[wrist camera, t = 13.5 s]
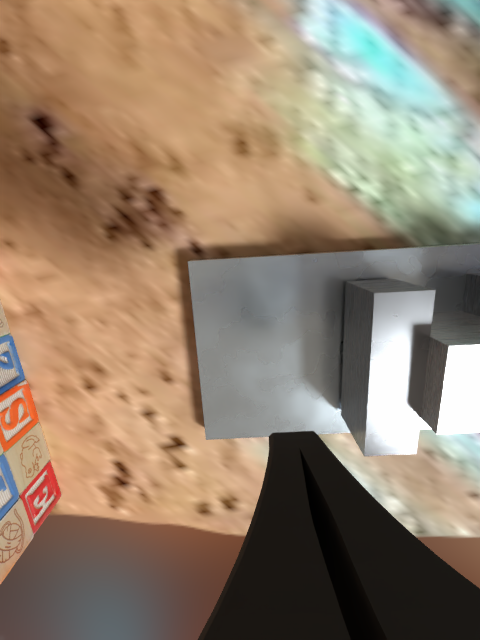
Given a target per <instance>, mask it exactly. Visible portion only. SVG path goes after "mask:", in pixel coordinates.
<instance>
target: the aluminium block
mask: <svg viewBox="0 0 480 640" xmlns="http://www.w3.org/2000/svg"><path fill="white" fill-rule="evenodd" d="M421 419H422V420H423V421H424V422H425V423H426V424H427V425H428V426H429V427H430V428H431V429H432V430H433V431H434V432H435V433H436V434H455V433H476V432H480V317H479V316H476V315H473V314H470V313H467V312H464V311H444V312H433V317H432V325H431V334H430V342H429V351H428V359H427V368H426V376H425V385H424V393H423V402H422V410H421Z"/></svg>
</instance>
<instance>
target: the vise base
mask: <svg viewBox="0 0 480 640" xmlns="http://www.w3.org/2000/svg"><path fill="white" fill-rule="evenodd" d="M188 269H189V278H190V288H191V298H192V308H193V317H194V327H195V337H196V347H197V356H198V366H199V376H200V386H201V395H202V405H203V415H204V425H205V434H206V440H210V439H231V438H251V437H269V436H270V435H271V434H272V433H276V432H298V431H314V432H315V433H316V434H335V433H351V432H350V430H349V428H348V427H347V425H346V423H345V421H344V420H343V418H342V416H341V396H342V369H343V342H344V314H345V287H346V281H362V280H380V279H397V280H400V281H404V282H408V283H412V284H415V285H419V286H423V287H427V288H431V289H434V290H436V291H435V300H434V308H433V312H444V311H464V312H467V313H470V314H473V315H476V316H479V317H480V243H470V244H453V245H436V246H419V247H402V248H385V249H368V250H351V251H334V252H317V253H300V254H283V255H266V256H249V257H232V258H215V259H198V260H189V261H188ZM419 429H431V428H430V427H429V426H428V425H427V424H426V423H425V422H424V421H423V420H422V419H420V427H419ZM479 433H480V432H479Z"/></svg>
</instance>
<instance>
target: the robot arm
mask: <svg viewBox="0 0 480 640" xmlns="http://www.w3.org/2000/svg"><path fill="white" fill-rule="evenodd" d="M198 640H480V589H479V588H478V587H477V586H476V585H474V584H473V583H472V582H470V581H469V580H468V579H466V578H465V577H464V576H462V575H461V574H460V573H458V572H457V571H456V570H455V569H453V568H452V567H451V566H450V565H448V564H447V563H446V562H445V561H443V560H442V559H441V558H440V557H438V556H437V555H436V554H434V552H432V551H431V550H430V549H429V548H428V547H427V546H425V545H424V544H423V543H422V542H421V541H420V540H418V539H417V538H416V537H415V536H414V535H413V534H412V533H410V532H409V531H408V530H407V529H406V528H405V527H404V526H403V525H402V524H401V523H399V522H398V521H397V520H396V519H395V518H394V517H393V516H392V515H391V514H390V513H389V512H388V511H387V510H386V509H385V508H384V507H383V506H382V505H381V504H380V503H379V502H377V501H376V500H375V499H374V498H373V496H372V495H371V494H370V493H369V492H368V491H367V490H366V489H365V488H364V487H363V486H362V485H361V484H360V483H359V482H358V481H357V480H356V479H355V478H354V477H353V476H352V474H351V473H350V472H349V471H348V470H347V469H346V468H345V467H344V466H343V465H342V463H341V462H340V461H339V460H338V459H337V458H336V457H335V455H334V454H333V453H332V452H331V451H330V449H329V448H328V447H327V446H326V445H325V443H324V442H323V441H322V440H321V439H320V437H319V436H318V435H317V434H316V433H315V432H314V431H298V432H276V433H272V434H271V435H270V436H269V456H268V462H267V468H266V472H265V477H264V481H263V485H262V489H261V493H260V496H259V499H258V502H257V506H256V509H255V512H254V515H253V518H252V521H251V524H250V527H249V529H248V532H247V535H246V537H245V540H244V543H243V545H242V548H241V550H240V553H239V555H238V558H237V560H236V562H235V564H234V567H233V569H232V571H231V573H230V575H229V578H228V580H227V582H226V584H225V587H224V589H223V591H222V593H221V595H220V597H219V599H218V602H217V604H216V606H215V608H214V610H213V612H212V614H211V616H210V617H209V619H208V621H207V623H206V625H205V627H204V629H203V631H202V633H201V634H200V636H199V638H198Z"/></svg>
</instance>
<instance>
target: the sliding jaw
mask: <svg viewBox="0 0 480 640" xmlns="http://www.w3.org/2000/svg"><path fill="white" fill-rule="evenodd" d="M435 291H436V290H434V289H431V288H427V287H423V286H419V285H415V284H412V283H408V282H404V281H400V280H397V279H380V280H362V281H346V287H345V314H344V342H343V369H342V396H341V416H342V418H343V420H344V421H345V423H346V425H347V427H348V428H349V430H350V432H351V434H352V435H353V437H354V439H355V441H356V443H357V444H358V446H359V448H360V450H361V451H362V453H363V455H364V456H380V455H402V454H416V453H417V444H418V436H419V427H420V419H421V410H422V402H423V393H424V385H425V376H426V368H427V359H428V351H429V342H430V334H431V325H432V317H433V308H434V300H435Z"/></svg>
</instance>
